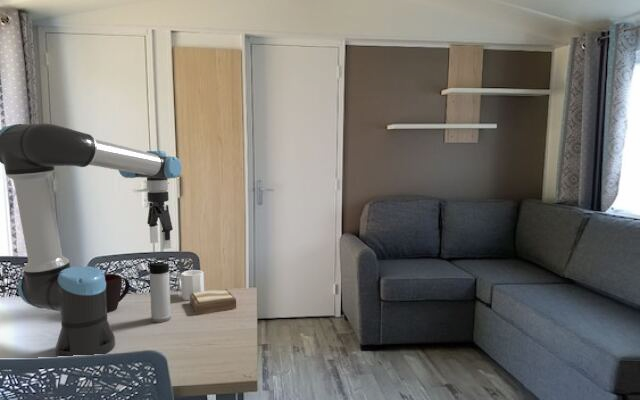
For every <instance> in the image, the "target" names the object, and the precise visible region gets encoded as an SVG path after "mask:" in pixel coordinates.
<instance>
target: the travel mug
mask: <svg viewBox="0 0 640 400" xmlns="http://www.w3.org/2000/svg"><path fill="white" fill-rule="evenodd" d="M169 265H170V263H165V262H150V263H149V266H148V267H149V287H150V288H149V290H150V294H149V296H150V311H151V312H150V314H151V317H150V318H151V321H152V322H153V323H157V324H158V323H165V322H167V321H168V322H169V320H171V318H172V311H171V287H170V286H171V284H170V282H171V281H170V266H169Z"/></svg>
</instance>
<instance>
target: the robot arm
mask: <svg viewBox="0 0 640 400" xmlns="http://www.w3.org/2000/svg"><path fill="white" fill-rule="evenodd" d="M0 163H1V164H2V165H3V166H4V171H5V176H7V177H8V178H9V179H11V180H12V181H13V185H14V190H15V191H14V192H15V195H16V200H17V206H18V212H19V213H18V214H19V216H20V217H19V218H20V223H21V229H22V234H23V235H22V236H23V241H24V245H25V251H26V256H27V263H26V264H25V265H24V266H23V269H22V270H23V274H22V275H21V279H19V281H18V285H17V286H18V287H17V288H18V289H17V290H18V293H19V297H20V298H21V299H22V301H23V302H25V303H26V304H28V305H30V306H32V307H35V308H37V309H45V310H50V311H56V312H60V321H61V322H60V323H61V328H60V332H59V335H58V338H57V342H56V345H55V356H73V355H94V354H103V355H106V354H107V353H109V352H110V351H112V350H113V349H114V348H115V346H116V337H115V335H114V332H113V329H112V328H111V324H110V323H109V321H108V313H107V299H106V282H105V274H104V271H102V270H101V269H100V268H97V267H94V266H88V265H87V266H82V265H81V266H79V265H78V266H72V267H71V264H70V259H69V258H67V257H65V256H64V255H63V251H62V245H61V240H60V239H61V238H60V235H59V232H60V231H59V228H58V222H57V213H56V210H55V204H54V197H53V191H52V186H51V179H50V176H51V175H52V174H53V173H55V167H63V166H64V167H65V166H66V167H80V168H86V167H87V166H93V167H99V168H105V169H111V170H116V171H117V170H118V172H119V174H120V175H121V176H122V177H123V178H125V179H134V178H142V179H143V178H144V179H145V178H146V190H147V191H148V192H147V202H148V203H149V204H148V205H149V206H148V207H149V208H148V216H147V225H148V226H149V238H150V239H149V240H150V241H149V242H150V244H156V243H157V244H158V243H159V237H158V235H159V234H158V225H159V224H158V220H159V222H160V224H161V229H162V230H161V235H162V249H163V250H167V249H171V248H172V247H171V245H172V244H171V242H172V241H171V231H174V230H173V228H174V227H173V224H172V223H173V222H172V221H171V215H170V211H169V204H165V202H168V201H169V191H168V190H169V184H170V182H169V180H170V179H176V178H178V177H179V176H180V175H181V173H182V166H183V165H182V162H181V160H180V159H179V158H178V157H176V156H170V155H168V156H167V152H166V151H165V150H146V151H143V150H140V149H134V148H132V147H131V148H130V147H128V146H122V145H118V144H117V143H116V144H114V143H112V142H107V141H102V140H99V139H95V138H94V137H93V135H91V134H88V133H86V132H81V131H79V130H76V129H72V128H69V127H65V126H61V125H57V124H53V123H45V122H43V123H18V124H17V123H16V124H12V125H6V126H4V127H2V128H0Z"/></svg>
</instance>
